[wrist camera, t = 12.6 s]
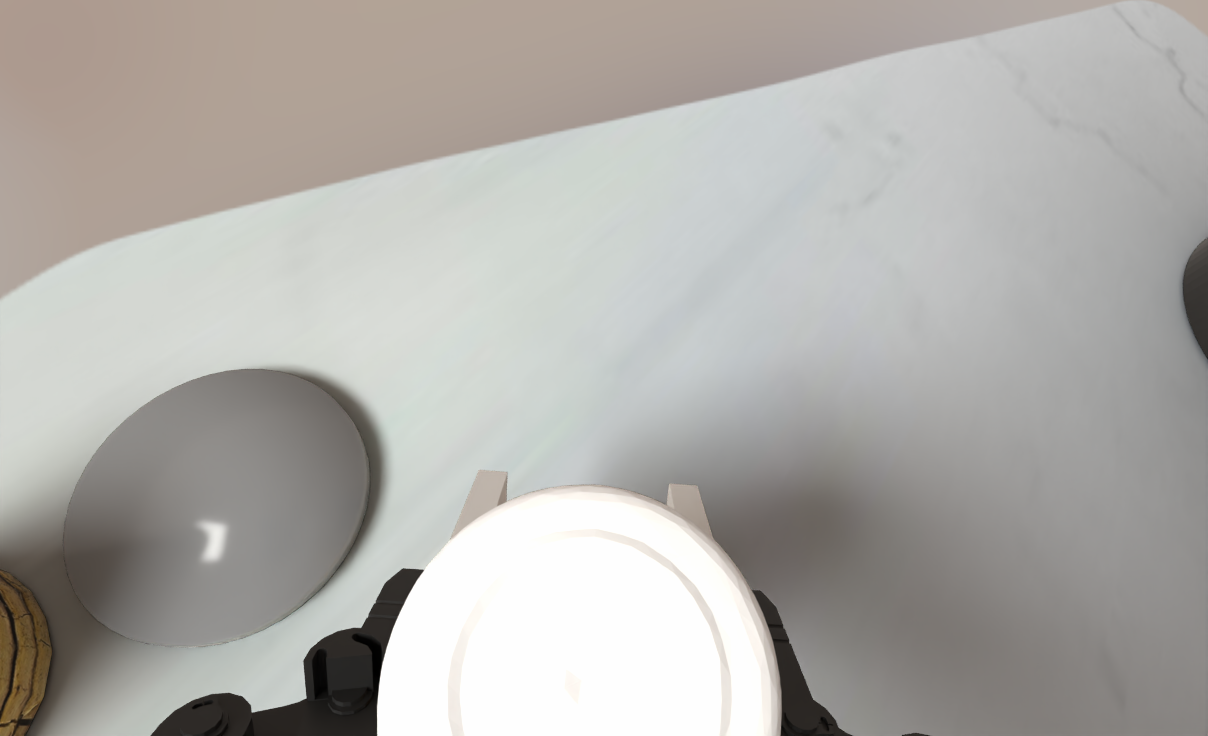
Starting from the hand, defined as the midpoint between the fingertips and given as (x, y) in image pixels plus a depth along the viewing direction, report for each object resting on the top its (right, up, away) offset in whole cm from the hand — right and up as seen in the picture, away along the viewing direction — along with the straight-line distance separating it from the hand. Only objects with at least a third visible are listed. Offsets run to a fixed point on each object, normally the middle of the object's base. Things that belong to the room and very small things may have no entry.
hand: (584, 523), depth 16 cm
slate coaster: (-13, -1, +6) cm, 15 cm away
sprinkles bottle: (0, -5, +2) cm, 6 cm away
